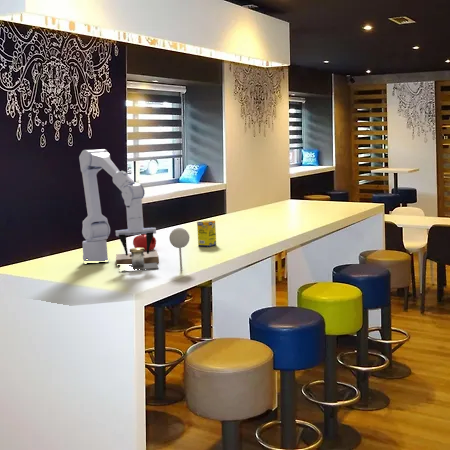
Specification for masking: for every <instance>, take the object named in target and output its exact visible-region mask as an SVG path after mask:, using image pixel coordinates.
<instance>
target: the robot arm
mask: <svg viewBox="0 0 450 450" xmlns="http://www.w3.org/2000/svg"><path fill="white" fill-rule="evenodd" d="M78 159H79V165H80V172H81V175H82V183H83V188H84V189H83V190H84V197H85V203H86V204H85V207H86V211H87V216H86V217H85V218H84V220H82V230H81V234H82V237H83V238H84V239H85V240H83V241H82V259H83V262H84V261H105V260H108V258H109V257H108V246H107V245H108V243H107V239H108V238H109V236H110V234H111V227H110V224H109V221H108V217H106V216H105V215H103V214H102V206H101V199H100V193H99V185H98V177H97V175H98V173H99V172H100V171H101V170H104V171H105V172H106V173H107V174H108V175H110V176H111V177H112V183H113V184H114V185H115V186H116V187H117V188H118V189H119V191H120V192H121V197H122V199H123V201H124V205H125V208H126V222H127V228H126V229H119V230H115V236H116V237H118V238H119V240H120V242H121V244H122V246H123V249H124V254H126V255H128V254H129V253H128V251H129V250H128V246H127V245H128V244H127V236H135V235H136V236H138V235H141V234H146V240H147V251H146V252H147V254H149V252H150V251H149V248H150V244H151V241H152V238H153V236H154V234H157V228H156V227H144V217H143V214H144V213H143V198H144V197H145V194H146V193H145V187H144V186H143V185H142V183H137V182H135V181H134V180H133V178H131V177H130V176H129V175H128V173H127V171H124V170H121V171H120V169H119V168H118V167H117V166H116V164H115V163H114V162H113V161H112V159H111V154H110V153H109V152H108V150H107V149H105V148H101V149H83V150H82V151H81V153H80V154H79V157H78ZM86 259H88V260H86Z"/></svg>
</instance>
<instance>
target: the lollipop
mask: <svg viewBox="0 0 450 450" xmlns="http://www.w3.org/2000/svg"><path fill="white" fill-rule="evenodd" d="M169 242H170V244H171V246H173V247H174V248H176V249H178V253H179V266H180V271H183V261H182V260H183V259H182V248H185V247H186V246H187V245H188V244H189V242H190V234H189V232H188V231H187V230H186V229H184V228H183V227H178V228H174V229H172V231H171V232H170V234H169Z"/></svg>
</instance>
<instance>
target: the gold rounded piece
mask: <svg viewBox="0 0 450 450" xmlns="http://www.w3.org/2000/svg"><path fill="white" fill-rule="evenodd" d="M129 252H130V253H131V256H132V267H134V268H138V267H144V254H143V252H146V251H145V249H144V248H135V247H132V248H130V249H129Z"/></svg>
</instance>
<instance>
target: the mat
mask: <svg viewBox="0 0 450 450" xmlns="http://www.w3.org/2000/svg"><path fill="white" fill-rule="evenodd" d="M129 266H131V267H132V265H129ZM133 269H134V270H135V269H137V270H139V269H140V270H142V271H146V270H145V269H155V270H159V267H158V263H145V264H144V267H138V268H134V267H133Z"/></svg>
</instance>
